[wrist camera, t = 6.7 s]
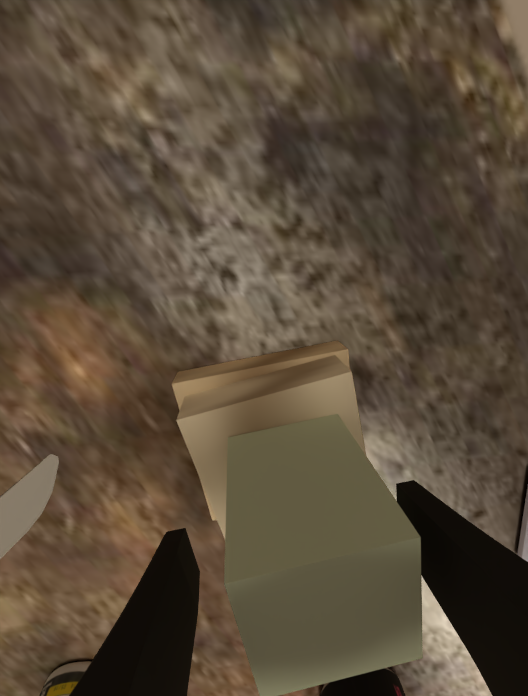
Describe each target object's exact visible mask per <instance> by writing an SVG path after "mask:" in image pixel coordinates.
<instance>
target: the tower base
mask: <svg viewBox="0 0 528 696" xmlns="http://www.w3.org/2000/svg"><path fill="white" fill-rule="evenodd" d="M333 355H336V356H337V357H338V358H339V359H340V360H341V361H342V362H343V363H344V364H345V365H346V366H347V367H348V368H349V370H350V365H349V353H348V349H347V348H346V347H345V346H344V345H342V344H341V343H340V342H339V341H333V342H328V343H322V344H317V345H312V346H307V347H302V348H297V349H292V350H286V351H281V352H276V353H271V354H266V355H261V356H256V357H251V358H245V359H240V360H235V361H230V362H225V363H220V364H215V365H210V366H204V367H199V368H194V369H189V370H184V371H179V372H177V374H176V376H175V378H174V380H173V382H172V387H173V390H174V393H175V397H176V400H177V403H178V407H179V410H180V408H181V405H182V402H183V400H184V397H185V396H188V395H191V394H195V393H199V392H202V391H206V390H209V389H213V388H217V387H220V386H224V385H228V384H231V383H235V382H238V381H242V380H246V379H249V378H253V377H256V376H260V375H264V374H267V373H271V372H275V371H278V370H282V369H285V368H289V367H293V366H296V365H300V364H304V363H307V362H311V361H314V360H318V359H322V358H325V357H329V356H333ZM201 484H202V482H201ZM202 487H203V484H202ZM203 490H204V494H205V497H206V500H207V504H208V507H209V510H210V514H211V517H212V520H217V519H216V516H215V514H214V511H213V509H212V506H211V504H210V502H209V499H208V497H207V494H206V492H205V489H204V487H203Z"/></svg>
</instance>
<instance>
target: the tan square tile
mask: <svg viewBox="0 0 528 696" xmlns="http://www.w3.org/2000/svg"><path fill="white" fill-rule="evenodd" d="M334 414H338V415H339V417H340V418H341V420H342V421H343V422H344V424H345V425H346V427H347V428H348V430H349V431H350V433H351V434H352V436H353V437H354V439H355V440H356V442H357V443H358V445H359V446H360V448H361V449H362V451H363V452H364V454H365V455H366V452H365V446H364V440H363V434H362V429H361V423H360V417H359V411H358V405H357V400H356V394H355V388H354V382H353V377H352V372H351V371H350V370H349V368H348V367H347V366H346V365H345V364H344V363H343V362H342V361H341V360H340V359H339V358H338V357H337V356H336V355H333V356H329V357H325V358H322V359H318V360H314V361H311V362H307V363H304V364H300V365H296V366H293V367H289V368H285V369H282V370H278V371H275V372H271V373H267V374H264V375H260V376H256V377H253V378H249V379H246V380H242V381H238V382H235V383H231V384H228V385H224V386H220V387H217V388H213V389H209V390H206V391H202V392H199V393H195V394H191V395H188V396H185V397H184V400H183V402H182V405H181V408H180V411H179V414H178V417H177V419H176V421H177V423H178V426H179V428H180V431H181V433H182V436H183V438H184V441H185V443H186V445H187V448H188V450H189V453H190V455H191V458H192V460H193V462H194V465H195V467H196V470H197V472H198V475H199V477H200V480H201V482H202V484H203V487H204V489H205V492H206V494H207V497H208V499H209V502H210V504H211V506H212V509H213V511H214V514H215V516H216V519H217V521H218V524H219V526H220V528H221V531H222V533H223V536H224V538H225V533H226V491H227V449H228V437H232V436H237V435H241V434H246V433H250V432H255V431H260V430H264V429H269V428H273V427H278V426H283V425H287V424H292V423H297V422H301V421H306V420H310V419H315V418H320V417H324V416H329V415H334Z"/></svg>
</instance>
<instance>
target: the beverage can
mask: <svg viewBox="0 0 528 696" xmlns="http://www.w3.org/2000/svg"><path fill="white" fill-rule="evenodd" d="M320 696H405V693H404V691H403V688H402V686H401V683H400V680H399V678H398V676H397V675H396V674H395V673H394V672H392V671H391V670H390V669H388V668H383V669H379V670H375V671H372V672H368V673H364V674H360V675H356V676H352V677H348V678H344V679H341V680H337V681H333V682H329V683H325V684H324V686H323V689H322V691H321V694H320Z"/></svg>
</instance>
